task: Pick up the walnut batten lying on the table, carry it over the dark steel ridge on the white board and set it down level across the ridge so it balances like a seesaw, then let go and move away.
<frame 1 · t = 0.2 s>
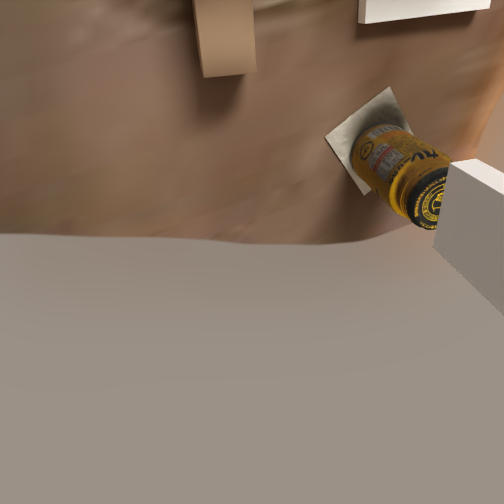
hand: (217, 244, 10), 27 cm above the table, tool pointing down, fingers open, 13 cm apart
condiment: (373, 143, 39), on the table
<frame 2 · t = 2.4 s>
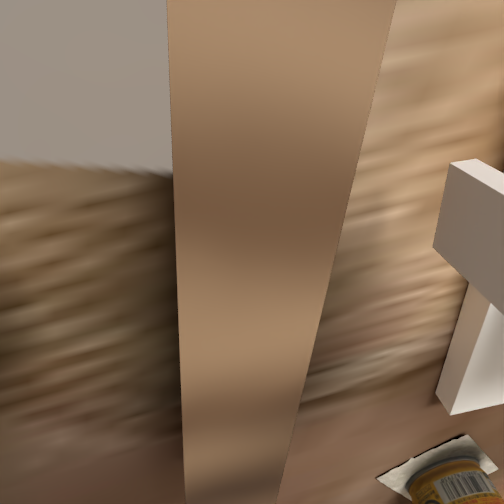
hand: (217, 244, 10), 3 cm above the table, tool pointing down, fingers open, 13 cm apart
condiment: (437, 468, 30), on the table
walnut batten: (225, 302, 17), on the table
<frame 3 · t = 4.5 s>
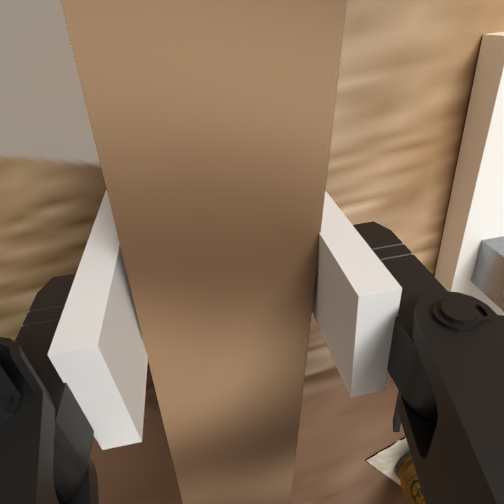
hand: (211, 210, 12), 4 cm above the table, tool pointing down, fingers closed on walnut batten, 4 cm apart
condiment: (423, 452, 32), on the table
walnut batten: (219, 327, 16), point 4 cm above the table, touching gripper
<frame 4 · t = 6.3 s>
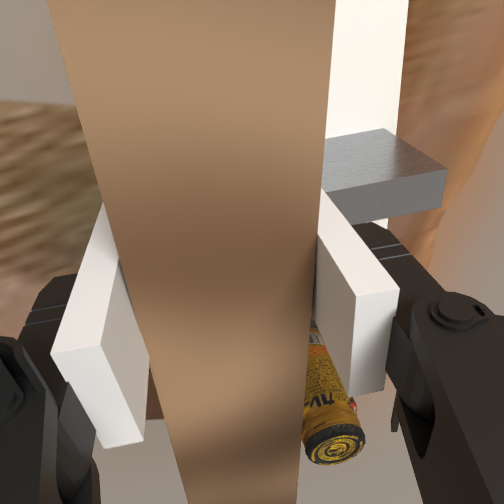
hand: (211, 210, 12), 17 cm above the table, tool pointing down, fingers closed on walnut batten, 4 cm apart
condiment: (295, 338, 42), on the table
white board: (318, 148, 30), on the table
walnut batten: (222, 329, 16), point 16 cm above the table, touching gripper
steel ridge: (344, 176, 25), on the white board, point 6 cm above the table
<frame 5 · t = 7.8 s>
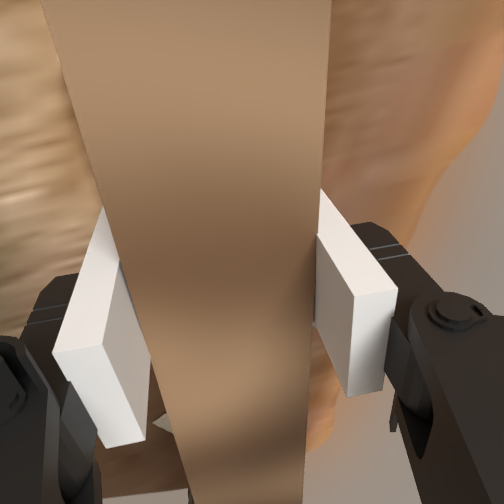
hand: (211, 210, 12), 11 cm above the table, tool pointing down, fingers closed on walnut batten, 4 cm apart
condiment: (213, 417, 36), on the table
walnut batten: (226, 329, 16), point 10 cm above the table, touching gripper
when the fingers open (9 cm above the table, at t = 8.3 s): walnut batten stays where it is, resting on steel ridge.
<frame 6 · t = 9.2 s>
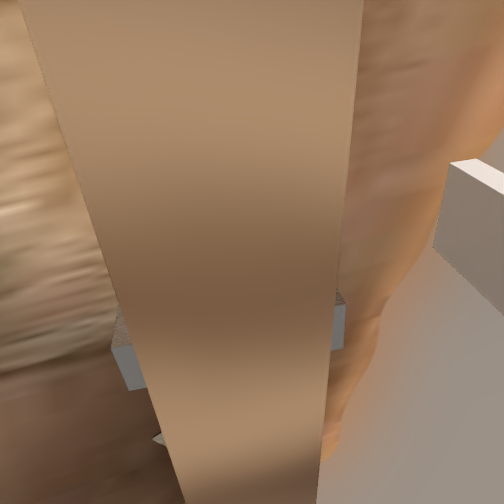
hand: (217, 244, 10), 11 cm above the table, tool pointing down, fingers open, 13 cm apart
walnut batten: (231, 351, 15), point 10 cm above the table, touching steel ridge
steel ridge: (224, 286, 19), on the white board, point 6 cm above the table
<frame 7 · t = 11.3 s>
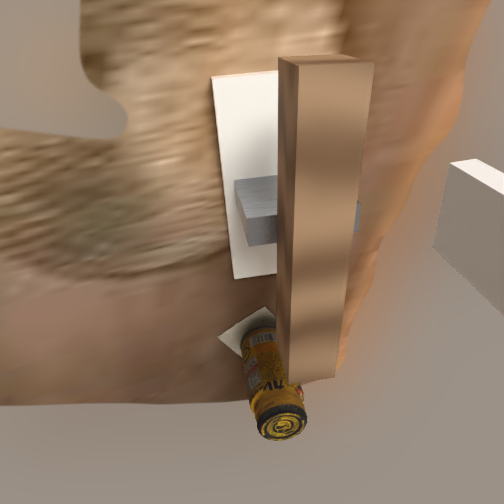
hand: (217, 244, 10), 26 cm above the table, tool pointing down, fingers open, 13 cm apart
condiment: (259, 337, 49), on the table
white board: (278, 181, 38), on the table
walnut batten: (302, 226, 30), point 9 cm above the table, touching steel ridge
steel ridge: (291, 204, 33), on the white board, point 6 cm above the table
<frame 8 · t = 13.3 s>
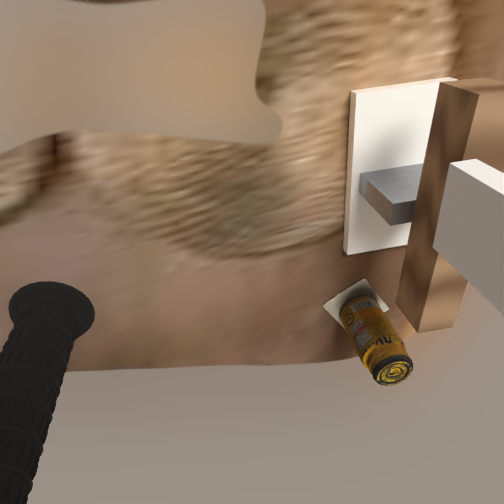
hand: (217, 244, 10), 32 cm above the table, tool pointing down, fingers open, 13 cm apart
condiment: (355, 305, 58), on the table
handle grip: (53, 311, 49), on the table
white board: (390, 172, 46), on the table
walnut batten: (432, 208, 39), point 9 cm above the table, touching steel ridge
steel ridge: (413, 191, 42), on the white board, point 6 cm above the table
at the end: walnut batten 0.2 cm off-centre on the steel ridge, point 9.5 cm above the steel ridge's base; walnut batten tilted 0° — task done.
